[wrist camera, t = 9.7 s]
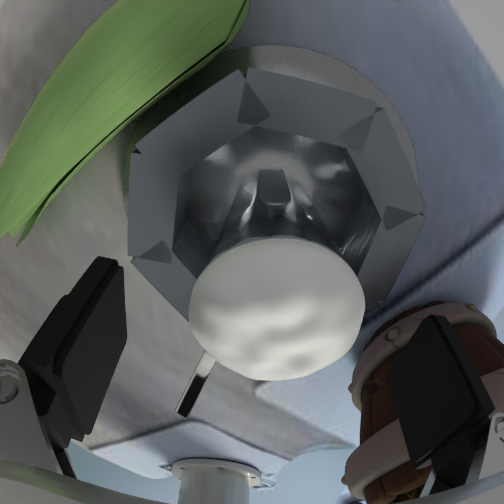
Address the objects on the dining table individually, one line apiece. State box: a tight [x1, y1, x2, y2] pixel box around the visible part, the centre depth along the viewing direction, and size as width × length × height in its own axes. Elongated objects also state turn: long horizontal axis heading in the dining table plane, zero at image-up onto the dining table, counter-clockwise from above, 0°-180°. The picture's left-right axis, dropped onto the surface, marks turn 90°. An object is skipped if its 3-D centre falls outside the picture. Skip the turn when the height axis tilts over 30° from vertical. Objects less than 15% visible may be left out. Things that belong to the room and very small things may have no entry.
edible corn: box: [0, 0, 250, 246], centre depth 12 cm, size 5×20×5 cm
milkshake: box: [175, 168, 365, 419], centre depth 11 cm, size 4×5×10 cm
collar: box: [123, 45, 426, 322], centre depth 14 cm, size 15×15×4 cm
